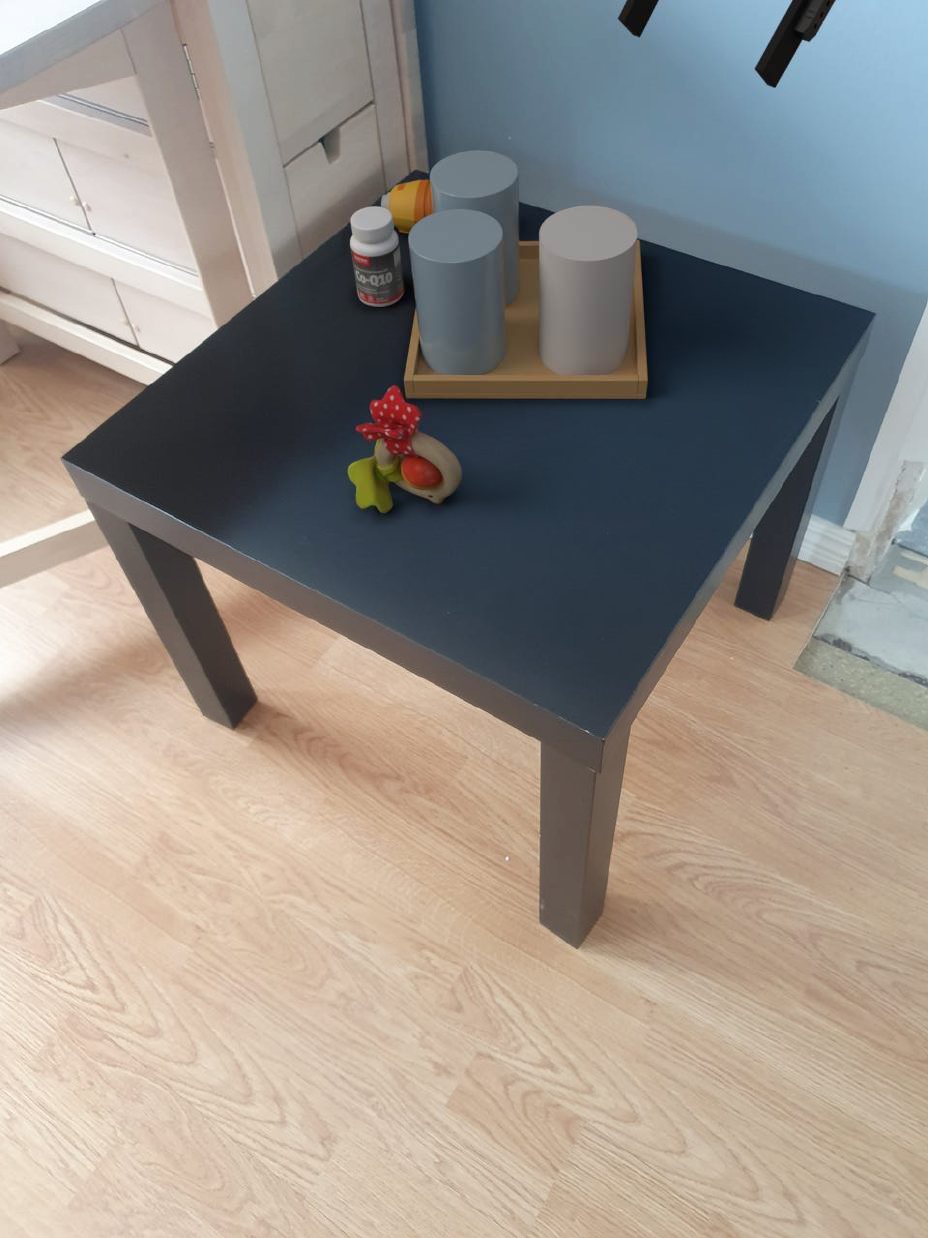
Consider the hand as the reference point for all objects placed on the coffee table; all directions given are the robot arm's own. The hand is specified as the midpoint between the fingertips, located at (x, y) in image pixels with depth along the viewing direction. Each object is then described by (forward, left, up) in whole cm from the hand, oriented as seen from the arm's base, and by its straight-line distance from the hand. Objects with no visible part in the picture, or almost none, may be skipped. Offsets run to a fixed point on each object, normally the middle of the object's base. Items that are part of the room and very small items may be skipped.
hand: (693, 52), depth 77 cm
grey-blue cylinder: (+18, -3, -23) cm, 29 cm away
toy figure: (+23, -14, -24) cm, 36 cm away
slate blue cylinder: (+19, +6, -23) cm, 31 cm away
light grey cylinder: (+8, +6, -23) cm, 25 cm away
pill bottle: (+28, -3, -24) cm, 37 cm away
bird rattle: (+22, +25, -24) cm, 41 cm away
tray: (+13, +2, -24) cm, 27 cm away
